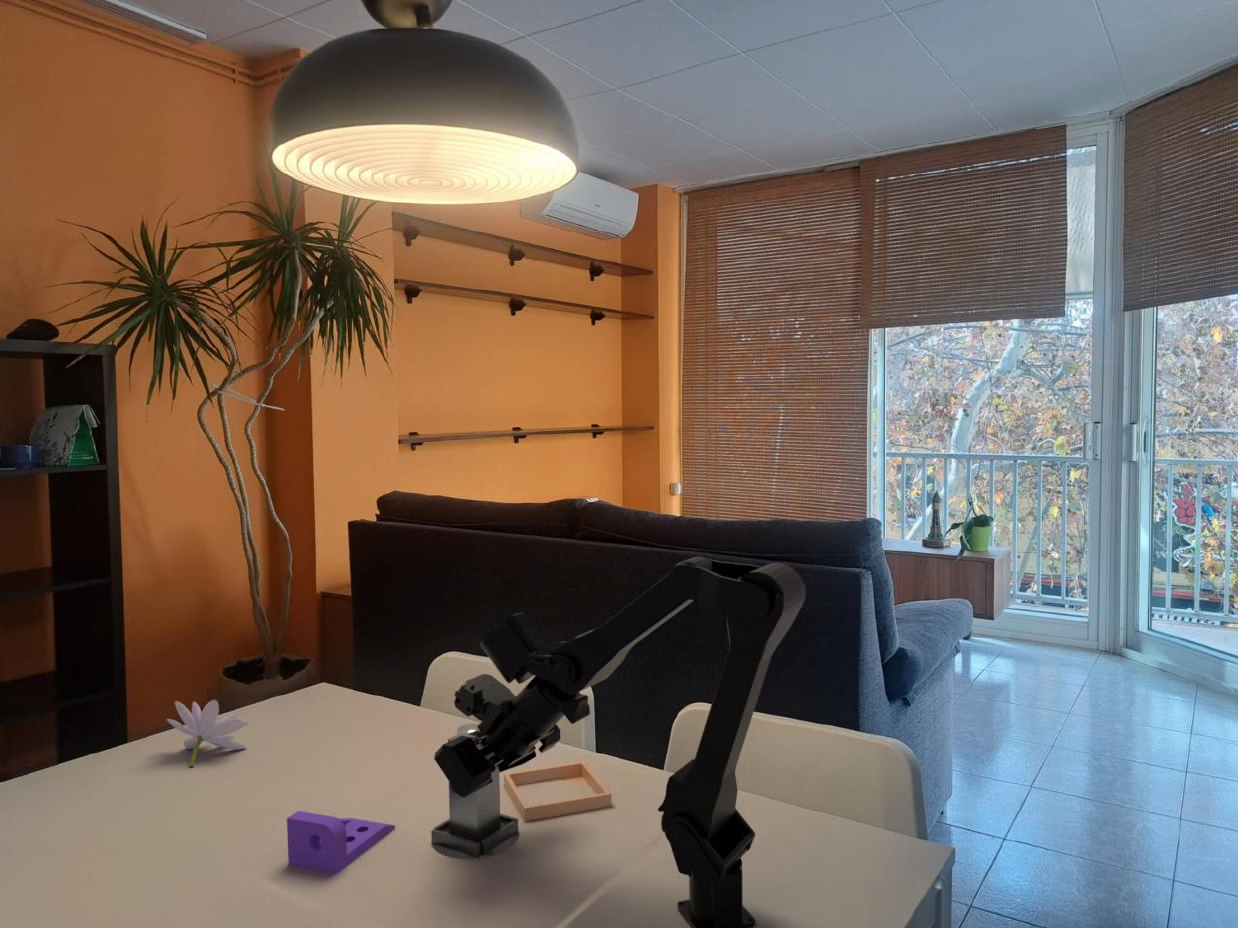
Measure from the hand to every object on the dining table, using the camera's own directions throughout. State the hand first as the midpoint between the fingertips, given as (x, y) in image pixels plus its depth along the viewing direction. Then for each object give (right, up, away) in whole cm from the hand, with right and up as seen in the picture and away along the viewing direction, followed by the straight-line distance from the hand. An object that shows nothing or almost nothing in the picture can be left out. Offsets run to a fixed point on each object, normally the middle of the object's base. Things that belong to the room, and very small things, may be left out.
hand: (465, 782), depth 112 cm
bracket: (-15, -8, -2) cm, 17 cm away
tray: (+11, -7, +12) cm, 17 cm away
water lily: (-47, -7, +30) cm, 56 cm away
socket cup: (+1, -8, 0) cm, 8 cm away
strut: (+1, -7, 0) cm, 7 cm away
